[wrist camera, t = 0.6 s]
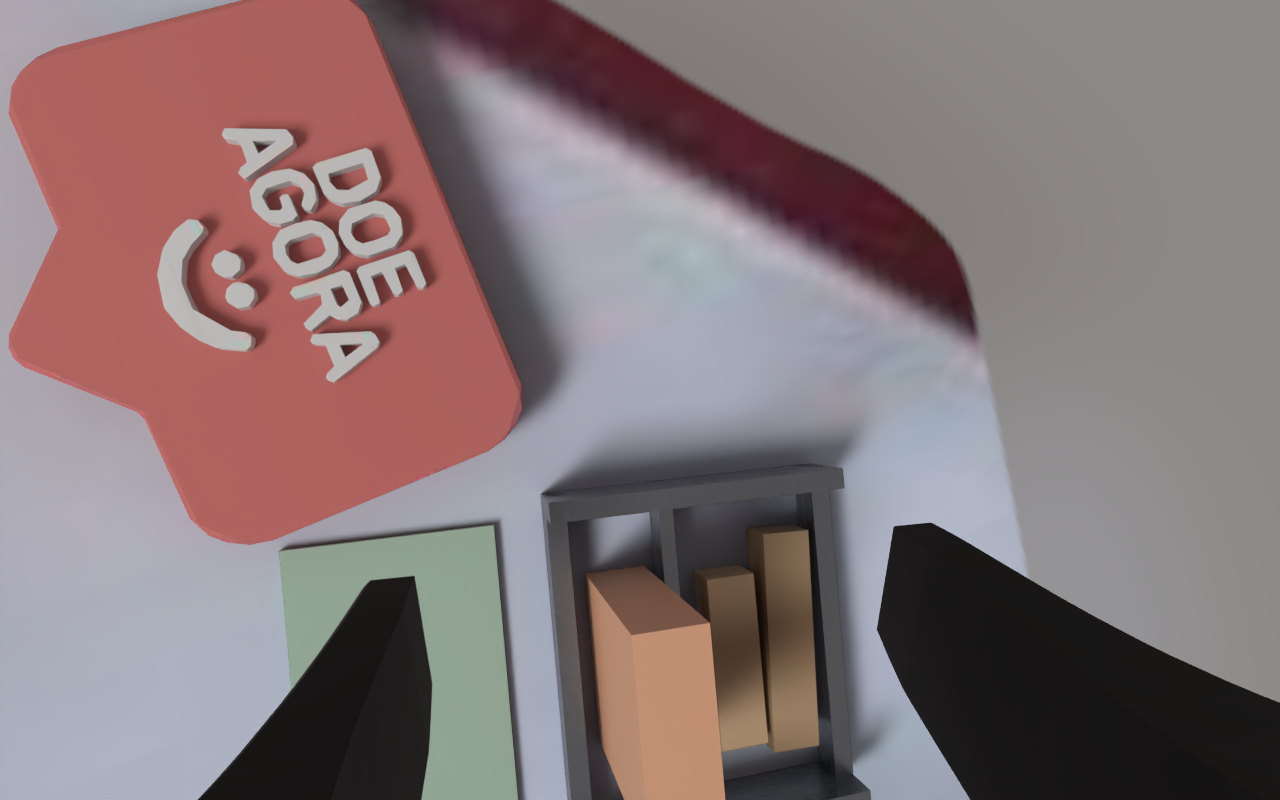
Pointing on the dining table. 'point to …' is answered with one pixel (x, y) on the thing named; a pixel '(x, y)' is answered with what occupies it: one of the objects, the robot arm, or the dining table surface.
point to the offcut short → (734, 653)
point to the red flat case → (257, 262)
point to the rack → (792, 796)
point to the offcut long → (785, 633)
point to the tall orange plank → (654, 688)
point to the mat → (454, 634)
